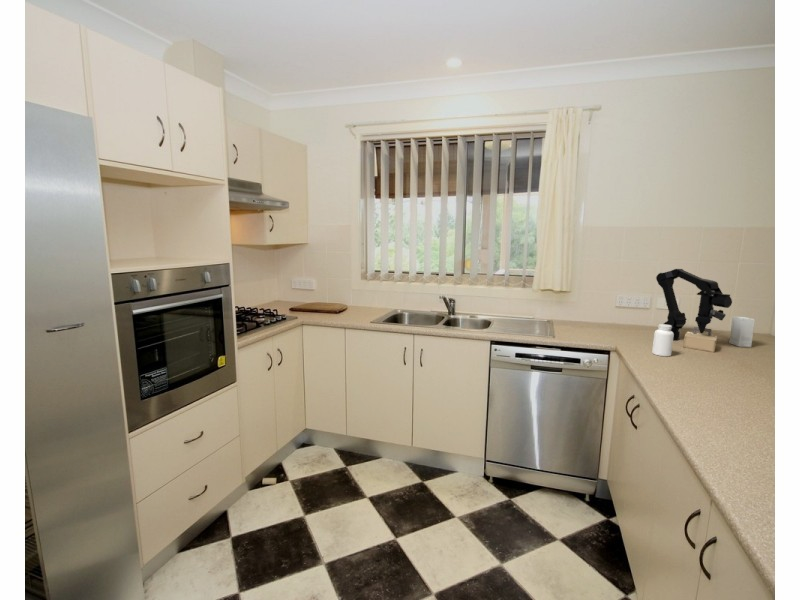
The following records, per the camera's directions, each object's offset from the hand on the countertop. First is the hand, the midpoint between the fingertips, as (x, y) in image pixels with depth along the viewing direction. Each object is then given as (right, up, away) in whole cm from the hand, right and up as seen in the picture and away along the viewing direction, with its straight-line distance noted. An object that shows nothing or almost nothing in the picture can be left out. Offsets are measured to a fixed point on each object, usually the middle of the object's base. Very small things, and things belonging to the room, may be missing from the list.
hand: (701, 332), depth 209 cm
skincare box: (+25, -7, +6) cm, 27 cm away
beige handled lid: (-2, -2, -2) cm, 4 cm away
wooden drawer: (-2, -8, -1) cm, 8 cm away
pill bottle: (-32, -10, -15) cm, 37 cm away
